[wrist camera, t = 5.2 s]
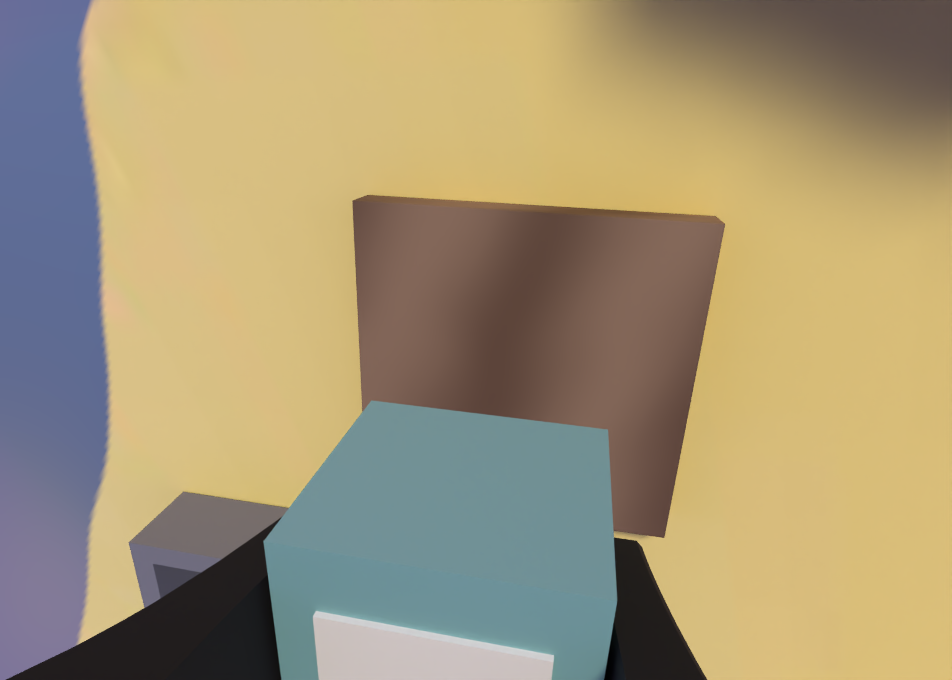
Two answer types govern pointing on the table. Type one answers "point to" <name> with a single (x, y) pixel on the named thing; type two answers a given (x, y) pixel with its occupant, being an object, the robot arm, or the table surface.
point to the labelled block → (448, 552)
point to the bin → (193, 539)
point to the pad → (542, 323)
